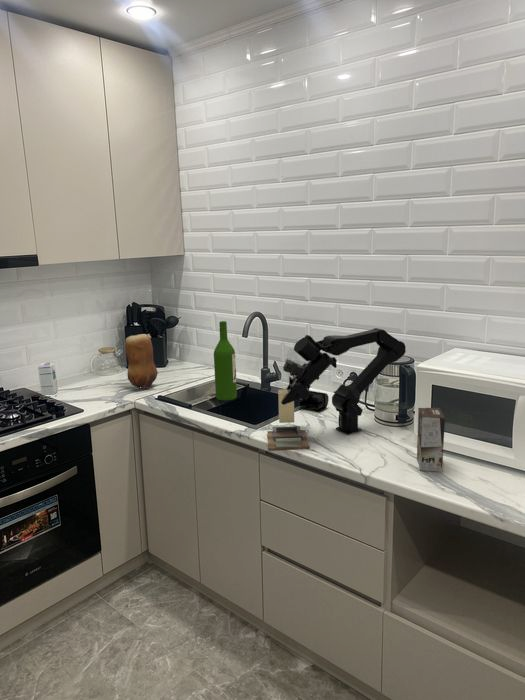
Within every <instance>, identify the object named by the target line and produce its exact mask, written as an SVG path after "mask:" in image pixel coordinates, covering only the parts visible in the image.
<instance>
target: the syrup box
mask: <svg viewBox="0 0 525 700" xmlns="http://www.w3.org/2000/svg"><path fill="white" fill-rule="evenodd" d="M37 370H38V378H39V384H40V392H41V396H42V395H55V394H56V393H57V391H58V390H59V389H58V382H57V373H56V368H55V362H44V363H43V362H42V363H40V364H39V365H38V366H37ZM58 392H59V391H58Z"/></svg>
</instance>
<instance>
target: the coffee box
mask: <svg viewBox="0 0 525 700" xmlns="http://www.w3.org/2000/svg"><path fill="white" fill-rule="evenodd" d="M417 412H418V413H417V436H416V437H417V445H416V460H417V464H418V467H419V471H424V472H425V471H426V472H443V463H444V462H443V461H444V445H445V444H444V442H445V440H444V439H445V424H446V422H445V421H446V417H445V415H444V413H443V411H442V410H441V408H440V407H418V408H417Z"/></svg>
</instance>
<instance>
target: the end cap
mask: <svg viewBox="0 0 525 700" xmlns="http://www.w3.org/2000/svg"><path fill="white" fill-rule="evenodd" d="M309 391H310V396H309V397H308V398H307V399H306V400H305V399H304V398H301V399H300V400H299V401H298V406H299V409H298V410H300V411H301V410H302V411H306V412H312V413H316V414H317V413H318V414H319V413H322V412H323V411H325V410H326V408H327V407H328V405H329V395H328V393H326V392H320V391H315V390H314V391H313V390H309Z"/></svg>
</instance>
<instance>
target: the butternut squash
mask: <svg viewBox="0 0 525 700" xmlns="http://www.w3.org/2000/svg"><path fill="white" fill-rule="evenodd" d="M152 342H153V341H152V340H151V337H150V335H148V334H146V333H142V334H140V333H139V334H135V335H129V336H128V337H126V339H125V343H124V347H125V354H126V358H127V360H128V368H127V379H128V382H129V383H131V385H132V386H133V387H136V388H137V389H147V388H146V387H149V386H150V387H151V386H152V384H153V383H154V382H155V381H156V379H157V377H158V373H159V371H158V369H157V366H156V364H155V362H154V359H155V358H154V347H153V343H152ZM140 387H141V388H140ZM150 387H149V388H150Z"/></svg>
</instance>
